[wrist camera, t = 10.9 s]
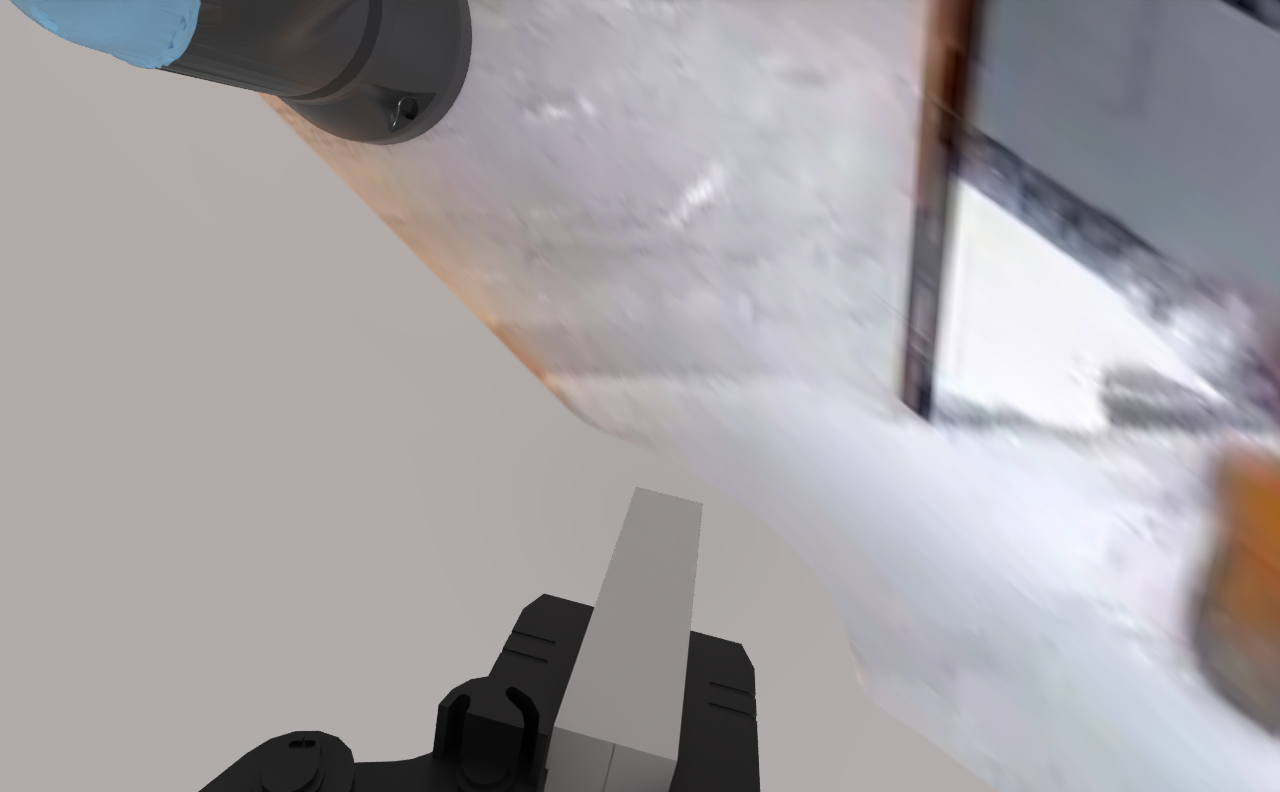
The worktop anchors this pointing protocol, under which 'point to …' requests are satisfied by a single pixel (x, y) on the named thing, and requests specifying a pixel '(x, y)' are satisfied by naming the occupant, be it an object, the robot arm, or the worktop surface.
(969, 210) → the worktop surface
